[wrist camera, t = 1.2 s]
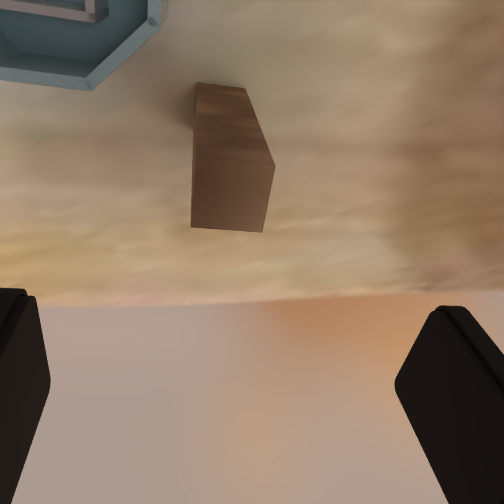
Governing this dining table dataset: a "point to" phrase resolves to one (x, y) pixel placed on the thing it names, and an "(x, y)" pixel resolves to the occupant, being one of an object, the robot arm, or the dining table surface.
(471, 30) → the dining table surface
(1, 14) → the octagonal socket dish
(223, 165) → the wood grain block
